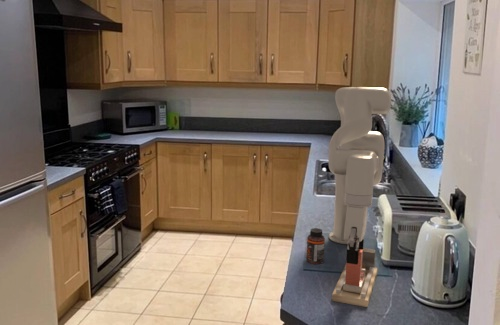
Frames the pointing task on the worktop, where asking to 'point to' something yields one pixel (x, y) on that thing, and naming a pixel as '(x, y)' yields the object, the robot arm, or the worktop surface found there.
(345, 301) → the base
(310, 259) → the supplement bottle
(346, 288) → the handle
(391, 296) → the worktop surface
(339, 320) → the worktop surface
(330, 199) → the worktop surface
